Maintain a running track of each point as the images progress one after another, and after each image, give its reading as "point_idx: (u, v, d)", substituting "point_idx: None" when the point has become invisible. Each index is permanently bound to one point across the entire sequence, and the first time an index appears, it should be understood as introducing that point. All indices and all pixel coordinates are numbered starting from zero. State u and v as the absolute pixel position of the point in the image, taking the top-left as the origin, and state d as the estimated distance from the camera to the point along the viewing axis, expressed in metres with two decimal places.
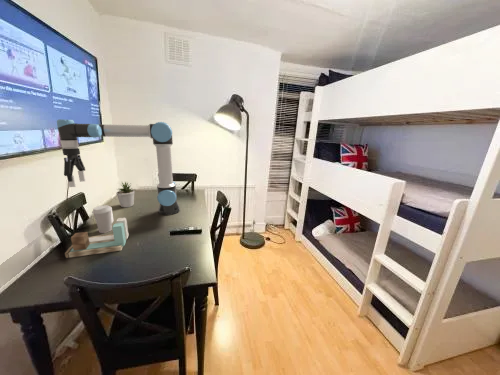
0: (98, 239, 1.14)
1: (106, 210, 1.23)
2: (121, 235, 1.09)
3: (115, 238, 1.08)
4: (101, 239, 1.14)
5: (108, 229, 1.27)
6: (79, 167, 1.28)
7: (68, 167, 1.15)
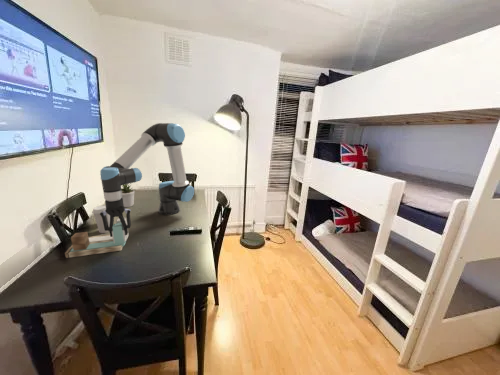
0: (98, 239, 1.14)
1: None
2: (121, 235, 1.09)
3: (115, 238, 1.08)
4: (101, 239, 1.14)
5: None
6: None
7: None
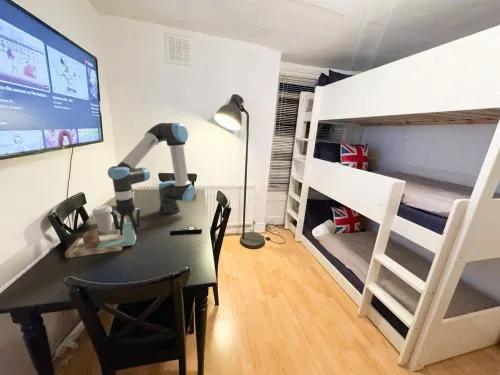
0: None
1: (106, 210, 1.23)
2: (131, 234, 1.10)
3: (125, 237, 1.10)
4: (101, 239, 1.14)
5: (108, 229, 1.27)
6: None
7: None
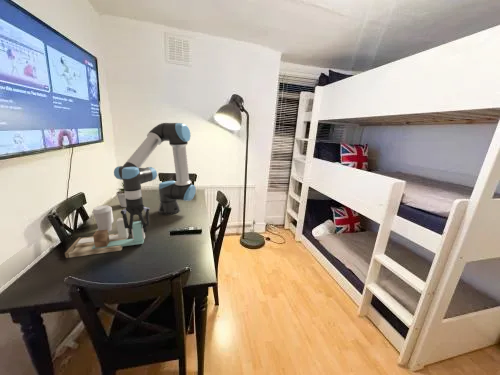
0: None
1: (106, 210, 1.23)
2: (140, 233, 1.12)
3: (134, 236, 1.11)
4: None
5: (108, 229, 1.27)
6: None
7: None
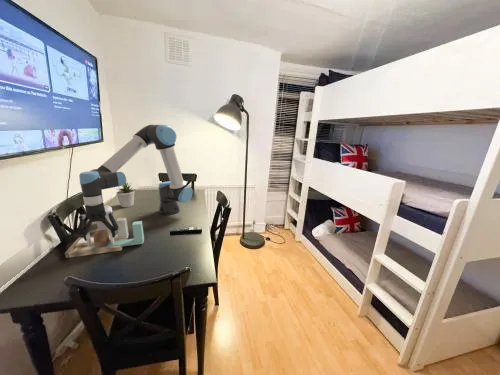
0: None
1: (106, 210, 1.23)
2: (140, 233, 1.12)
3: (134, 236, 1.11)
4: None
5: (108, 229, 1.27)
6: None
7: None
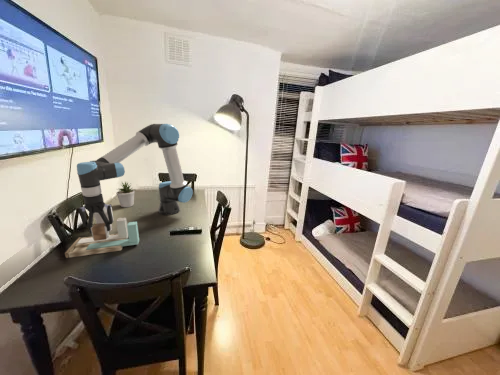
0: None
1: (106, 210, 1.23)
2: (135, 233, 1.11)
3: (129, 236, 1.10)
4: None
5: None
6: None
7: None
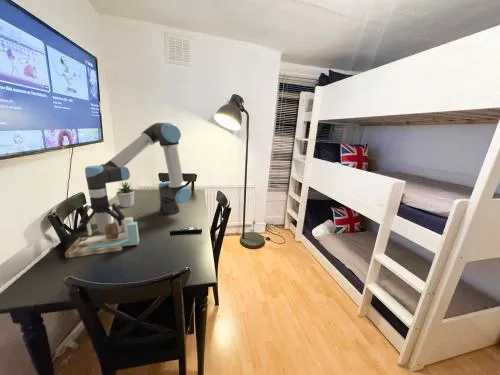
0: (105, 238, 1.15)
1: None
2: (135, 233, 1.11)
3: (129, 236, 1.10)
4: None
5: None
6: None
7: None
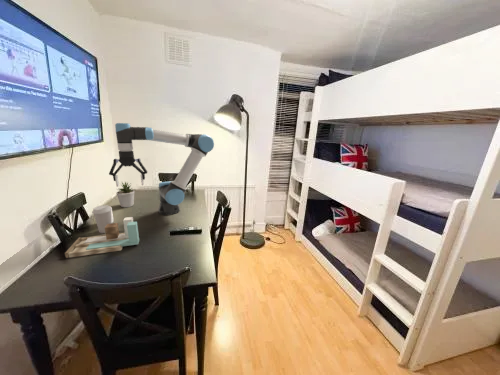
0: (105, 238, 1.15)
1: (106, 210, 1.23)
2: (135, 233, 1.11)
3: (129, 236, 1.10)
4: None
5: None
6: None
7: None
